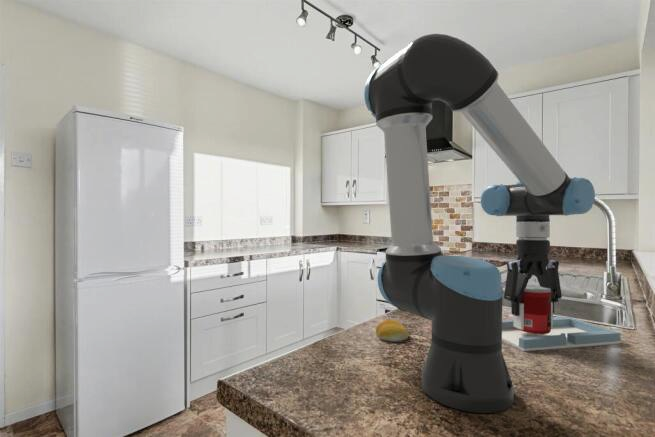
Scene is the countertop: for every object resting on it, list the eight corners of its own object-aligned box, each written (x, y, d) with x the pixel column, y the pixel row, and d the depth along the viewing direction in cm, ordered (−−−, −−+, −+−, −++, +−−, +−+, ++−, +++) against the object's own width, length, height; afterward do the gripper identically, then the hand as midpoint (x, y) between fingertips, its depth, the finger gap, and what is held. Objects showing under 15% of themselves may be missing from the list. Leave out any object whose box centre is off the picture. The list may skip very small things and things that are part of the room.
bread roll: (380, 343, 86) (380, 327, 87) (373, 332, 95) (373, 317, 95) (413, 342, 87) (413, 326, 87) (403, 331, 96) (403, 316, 96)
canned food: (556, 335, 86) (556, 290, 86) (521, 333, 87) (521, 289, 87) (543, 326, 93) (543, 285, 93) (511, 324, 95) (511, 284, 95)
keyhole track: (523, 351, 81) (523, 340, 81) (482, 331, 96) (482, 321, 96) (620, 343, 86) (620, 332, 86) (567, 325, 101) (567, 316, 101)
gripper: (507, 240, 85) (508, 334, 84) (579, 239, 89) (579, 328, 88) (487, 238, 92) (488, 325, 92) (554, 237, 96) (555, 320, 96)
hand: (533, 326), depth 90 cm, fingers closed on canned food, 8 cm apart
